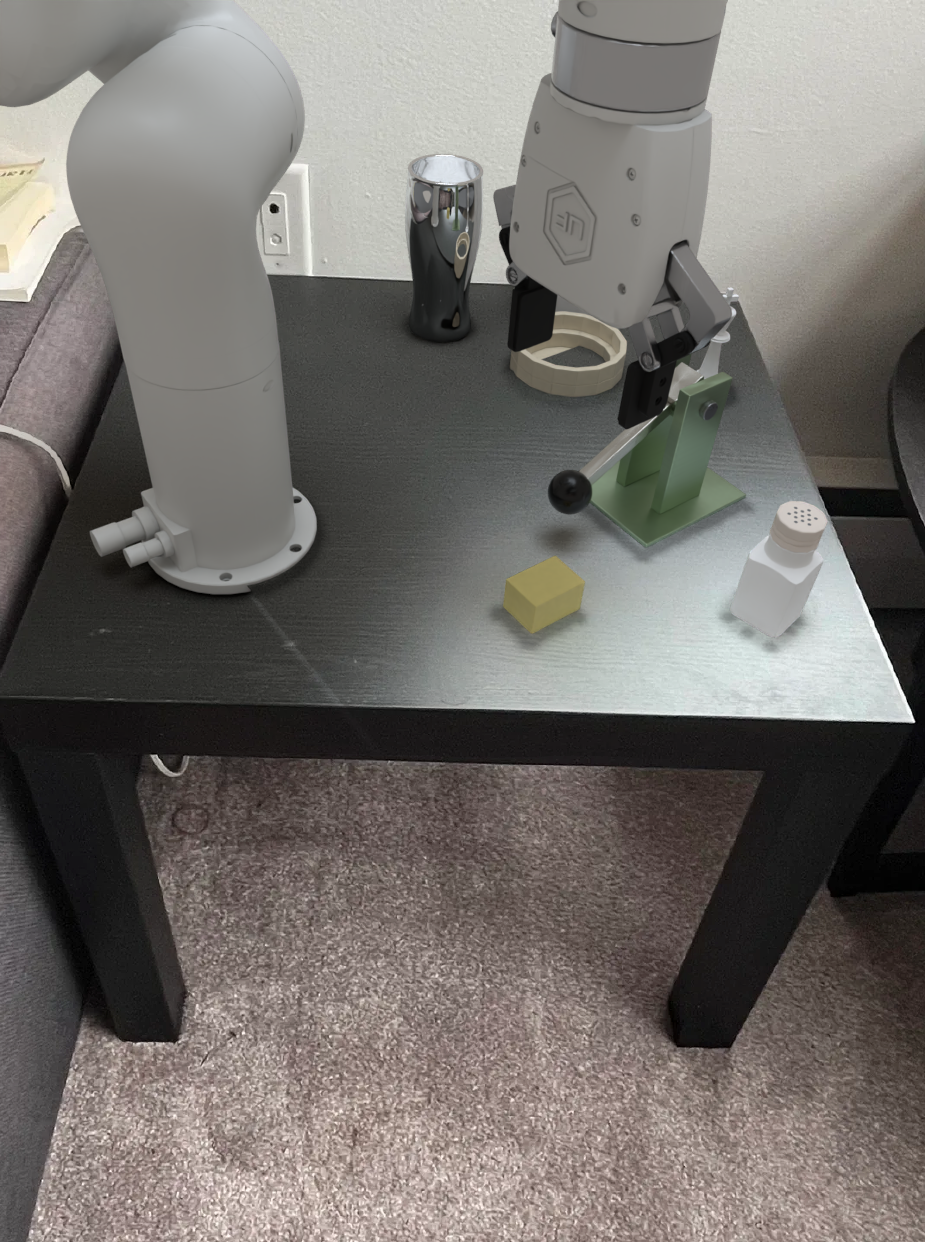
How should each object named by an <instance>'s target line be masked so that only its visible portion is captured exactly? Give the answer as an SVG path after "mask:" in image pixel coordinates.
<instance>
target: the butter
mask: <svg viewBox="0 0 925 1242" xmlns="http://www.w3.org/2000/svg"><path fill="white" fill-rule="evenodd" d="M504 585H505V586H504V595H503V603H502V607H503V608H504V609H505V610H506V611H507V612H508V613H509V614H510V615H511V616H512V617H513V618H514V619H515V620H516V621H517V622H518V623H519V624H520V625H521V626H522V627H523V628H524V629H526V630H527V632H528V633H530V634H531V635H532V634H535V633H536V632H539V631H541V630H543V629H545V628H546V627H548V626H550V625H552V624H553V623H556V622H558V621H560V620H562V619H563V618H565V617H567V616H569V615H571V614H573V613H575V612H577V611H579V610H580V609H581V606H582V601H583V595H584V590H585V587H586V581H585V580H584V579H583V578H582V577H581V576H580V575H579V574H577V573H576V572H575V571H574V570H573V569H572V568H570V567H569V565H567V564H566V563H564V561H563V560H561V559H560V558H559V557H558V556H557V555H552V556H551V557H549V558H547V559H545V560H543V561H540V562H539V563H538V562H537V564H534V565H531V566H530V567H528V568H525V569H524V570H522V571H519V572H518V573H516V574H514V575H511V576H510V577H507V578H505V584H504Z"/></svg>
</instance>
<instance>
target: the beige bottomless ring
mask: <svg viewBox="0 0 925 1242" xmlns="http://www.w3.org/2000/svg"><path fill="white" fill-rule="evenodd" d="M620 330H621V329H619V328H614V327H611V326H609V325H607V324H605V323H603V322H601V321H599V320H598V319H596V318H594V317H592V316H590V315H587V314H582V313H574V312H566V311H559V312H555V318H554V326H553V334H552V337H551V339H550V340H548V341H546V342H543V343H541V344H538V345H535V346H533V347H530V348H527V349H525V350H522V351H519V352H514V351H512V350H510V352H511V353H510V361H509V369H510V371H513V372H514V374H515V377H517V378H518V379H519V380H521V381H522V382H523V383H525V385H528V386H529V387H530V388H533V389H535V390H537V391H540V392H544V393H546V394H548V395H554V396H560V397H562V396H563V397H571V398H578V397H579V398H580V397H589V396H596V395H599V394H601V393H604V392H606V391H608V390H611V389H613V388H614V387H615V386H616V385H617V384H618V383H619V382H620V381H621V380H622V377H623V372H624V368H625V361H626V356H627V348H628V346H627V345H628V341H627V340H626V338H625V336H624V335H623V333H622V332H621V331H620ZM578 347H582V348H585V349H588V350H591V351H592V352H594V353H595V354H597V355H598V356H600V357H601V358H602V359H603V360H604V362H602V363H600V364H597V365H589V366H579V367H576V366H575V367H573V366H566V365H559V364H554V363H552V362H549V361H546V360H544V359H546V358H549V357H552V356H554V355H555V356H556V355H557V354H560V353H563V352H566V351H569V350H572V349H574V348H578Z"/></svg>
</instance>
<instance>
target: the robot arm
mask: <svg viewBox="0 0 925 1242" xmlns="http://www.w3.org/2000/svg"><path fill="white" fill-rule="evenodd" d="M728 1H729V0H558V8H557V11H556V12H555V14H553V16H552V19H551V23H550V33H551V35H552V36H553V38H554V45H553V54H552V55H553V56H552V63H551V72H550V73H547V74H545V75H543V77H542V78H541V79H540V82H539V85H538V87H537V91H536V94H535V97H534V99H533V103H532V106H531V110H530V114H529V117H528V121H527V126H526V129H525V134H524V138H523V143H522V148H521V152H520V158H519V164H518V168H517V174H516V181H515V184H512V185H509V186H505V187H501V188H498V189H495V190H494V192H493V196H492V197H493V203H494V208H495V213H496V218H497V221H498V222H497V223H498V226H499V227H501V228H500V230H499V233H498V240H499V244H500V246H501V249H502V252H503V254H504V257H505V259H506V261H507V264H508V266H507V267H506V269H505V277H506V280H507V282H508V284H509V285H510V286H511V287H514V288H513V289H512V291H511V299H510V300H511V302H510V311H509V322H508V333H507V348H508V349H510V351H514V352H519V351H522V350H525V349H527V348H530V347H533V346H535V345H538V344H541V343H543V342H546V341H548V340H550V339H551V337H552V334H553V326H554V318H555V311H556V303H557V295H558V296H560V297H562V298H563V299H565V300H566V301H568V302H570V303H571V304H573V305H574V306H576V307H578V308H579V309H581V310H583V311H584V312H586V313H587V314H589V315H591V316H592V317H594V318H596V319H598V320H599V321H601V322H603V323H605V324H607V325H609V326H611V327H614V328H617V329H618V330H621V329H627V331H628V334H629V337H630V340H631V343H632V346H633V348H634V352H635V355H636V358H637V360H634V361H632V362H630V363H629V364H628V366H627V367H626V373H625V378H624V382H623V388H622V393H621V398H620V403H619V409H618V414H617V423H618V425H619V426H621V427H622V428H623V429H624V430H625V429H630V428H632V427H634V426H636V425H638V424H641V423H643V422H645V421H647V420H649V419H652V418H654V417H656V416H658V415H660V414H661V413H662V412H663V410H664V408H665V406H666V404H667V401H668V396H669V392H670V388H671V383H672V379H673V375H674V371H675V366H676V362H677V360H679V359H682V358H684V357H686V356H688V355H690V354H692V355H693V354H695V353H696V352H698V351H700V350H703V349H704V348H707V347H709V345H710V342H711V339H712V338H714V337H715V336H716V335H717V333H718V332H719V331H720V330H721V329H722V328H723V327H724V326H725V325H726V324H727V323H728V321H729V320H730V319H731V317H732V309H731V307H732V306H731V304H730V305H729V304H728V302H727V301H726V300H725V298H724V297H723V295H724V294H722V292H721V291H720V290H719V288H718V287H717V285H716V284H715V283H714V281H713V279H712V278H711V276H710V275H709V274H708V273H707V271H706V270H705V268H704V267H703V265H702V264H701V262H700V261H699V259H698V253H699V249H700V245H701V238H702V233H703V226H704V221H705V213H706V206H707V200H708V199H707V198H708V191H709V181H710V171H711V160H712V159H711V158H712V157H711V156H712V141H713V140H712V139H713V138H712V137H713V136H712V135H713V114H712V112H711V111H709V110H707V109H705V108H706V105H707V101H708V97H709V96H708V95H709V92H710V91H709V90H710V87H711V81H712V77H713V72H714V66H715V63H716V57H717V53H718V48H719V45H720V39H721V34H722V29H723V26H724V21H725V16H726V11H727V4H728ZM87 72H89V73H91V74H92V75H93V76H94V77H95V78H96V79H97V80H98V81H100V82H101V83H102V84H103V85H102V86H101V87H100V88H99V89H97V90H96V91H95V92H94V93H93V95H92V96H91V97H90V99H89V100H88V101H87V102H86V104H85V105H84V107H83V108H82V109H81V112H80V114H79V116H78V118H77V120H76V122H75V124H74V126H73V128H72V131H71V133H70V137H69V140H68V144H67V145H68V146H67V151H66V159H65V160H66V161H65V166H66V167H65V168H66V169H65V171H66V180H67V187H68V192H69V197H70V200H71V203H72V206H73V209H74V212H75V214H76V215H75V216H76V217H77V220H78V222H79V225H80V227H81V229H82V232H83V234H84V236H85V238H86V241H87V243H88V246H89V248H90V250H91V252H92V255H93V256H94V260H95V262H96V265H97V268H98V269H99V272H100V276H101V277H102V281H103V284H104V287H105V290H106V293H107V297H108V301H109V305H110V307H111V311H112V316H113V319H114V323H115V328H116V332H117V336H118V341H119V345H120V349H121V353H122V359H123V362H124V365H125V369H126V373H127V378H128V383H129V387H130V392H131V396H132V400H133V405H134V409H135V410H134V411H135V414H136V418H137V423H138V427H139V432H140V436H141V439H142V440H141V442H142V445H143V450H144V454H145V459H146V464H147V468H148V473H149V477H150V482H151V486H152V487H151V488H148V489H145V490H143V491H141V492H140V496H141V499H142V504H143V506H142V507H139V508H138V509H134V510H132V512H131V517H129V518H125V519H123V520H119V521H118V522H115V521H114V522H111V523H108V524H105V525H102V526H100V527H97V528H94V529H92V530H89V536H90V539H91V542H92V545H93V546H94V549H95V551H96V552H97V554H98V556H100V557H101V558H102V557H106V556H108V555H111V554H114V553H115V552H118V551H119V552H120V551H121V550H122V553H123V556H124V559H125V561H126V564H127V565H128V566H129V568H130V569H131V568H134V567H136V566H140V565H142V564H144V563H148V565H149V566H150V567H151V568H152V569H153V571H154V572H155V573H156V574H157V575H158V576H160V577H161V578H162V579H164V580H165V581H167V582H168V583H170V584H172V585H174V586H177V587H179V588H181V589H184V590H188V591H192V592H195V593H202V594H208V595H209V594H210V595H235V594H243V593H249V592H251V591H252V590H251V589H250V587H248V586H251V585H256V584H260V583H262V582H266V581H268V580H270V579H274V578H275V577H278V576H279V575H282V574H283V573H285V572H287V571H288V570H290V569H291V568H293V567H294V566H295V565H296V564H298V563H299V562H300V561H301V560H302V559H303V558H304V557H305V556H306V555H307V553H309V551H310V549H311V547H312V545H313V544H314V542H315V540H316V536H317V532H318V525H317V524H318V522H317V521H318V519H317V516H316V513H315V509H314V507H313V506H312V504H311V503H310V501H309V500H308V498H307V497H306V496H305V495H303V493H302V492H300V491H299V490H298V489H296V488H295V487H294V486H293V479H292V477H293V476H292V468H291V457H290V447H289V446H290V445H289V444H290V443H289V436H288V435H289V433H288V424H287V414H286V413H287V412H286V402H285V392H284V381H283V380H284V379H283V370H282V358H281V348H280V342H279V332H278V331H279V330H278V322H277V313H276V308H275V303H274V296H273V291H272V287H271V283H270V279H269V276H268V273H267V271H266V267H265V265H264V262H263V258H262V255H261V252H260V248H259V244H258V237H257V220H258V215H259V212H260V209H261V208H262V207H263V205H264V204H265V202H266V201H267V200H268V199H269V197H270V195H271V192H273V190H274V189H275V187H276V186H277V185H278V183H279V182H280V180H281V179H282V178H283V176H284V175H285V174H286V173H287V171H288V169H289V168H290V166H291V165H292V163H293V161H294V159H295V158H296V156H297V155H298V152H299V150H300V147H301V144H302V141H303V137H304V132H305V123H306V122H305V121H306V114H305V113H306V112H305V106H304V105H305V103H304V98H303V94H302V90H301V86H300V84H299V82H298V80H297V77H296V75H295V73H294V71H293V69H292V67H291V65H290V63H289V62H288V60H287V58H286V57H285V55H284V54H283V52H282V51H281V49H280V48H279V47H278V45H277V44H276V43H275V42H274V41H273V39H272V38H271V37H270V36H269V35H268V33H266V31H265V30H264V29H263V28H262V27H261V26H260V25H259V24H258V23H257V22H256V21H255V20H254V19H253V18H252V17H251V16H250V15H249V14H248V13H247V12H246V11H245V10H244V8H242V7H241V6H240V5H239V3H237V2H236V1H235V0H0V106H1V107H7V108H20V107H26V106H31V105H34V104H36V103H39V102H41V101H43V100H46V99H48V98H50V97H51V96H53V95H55V94H57V93H58V92H60V91H61V90H62V89H64V88H65V87H67V86H68V85H70V84H71V83H73V81H76V80H77V79H78V78H80V77H81V76H83V75H84V74H86V73H87ZM683 305H685V307H686V308H687V312H688V316H689V317H688V320H687V322H686V323H685V324H684V321H683V318H682V315H681V312H680V309H679V308H680V307H682V306H683ZM730 306H731V307H730ZM654 317H656V319H657V322H658V325H659V329H660V332H661V335H662V337H663V340H661V341H659V342H658V341H657V338H656V336H655V333H654V329H653V326H652V323H651V321H650V320H651V318H654ZM295 500H299V501H300V502H296V503H295ZM135 543H136V544H135ZM295 548H299V549H300V550H298V551H292V549H295Z"/></svg>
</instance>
